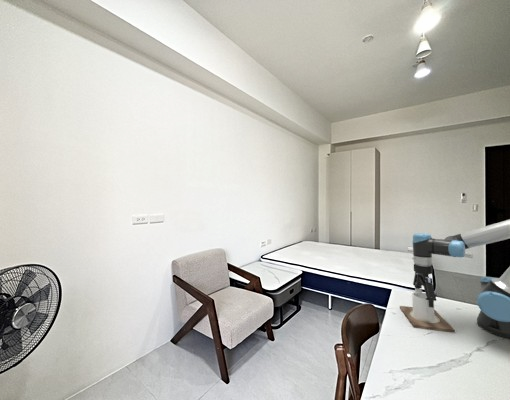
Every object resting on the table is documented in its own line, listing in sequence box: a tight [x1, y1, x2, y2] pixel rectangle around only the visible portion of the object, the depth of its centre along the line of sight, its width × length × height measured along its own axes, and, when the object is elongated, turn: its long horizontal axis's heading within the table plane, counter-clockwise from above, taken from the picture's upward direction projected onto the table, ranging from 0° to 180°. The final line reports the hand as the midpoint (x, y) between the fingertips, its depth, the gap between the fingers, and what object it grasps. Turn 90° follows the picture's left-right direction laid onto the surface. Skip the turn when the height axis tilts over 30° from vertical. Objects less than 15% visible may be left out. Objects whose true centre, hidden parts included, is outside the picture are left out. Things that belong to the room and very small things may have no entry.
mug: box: [411, 292, 434, 321], centre depth 111 cm, size 9×12×11 cm
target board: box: [399, 305, 456, 334], centre depth 111 cm, size 16×20×1 cm
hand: (424, 306), depth 111 cm, fingers open, 13 cm apart
